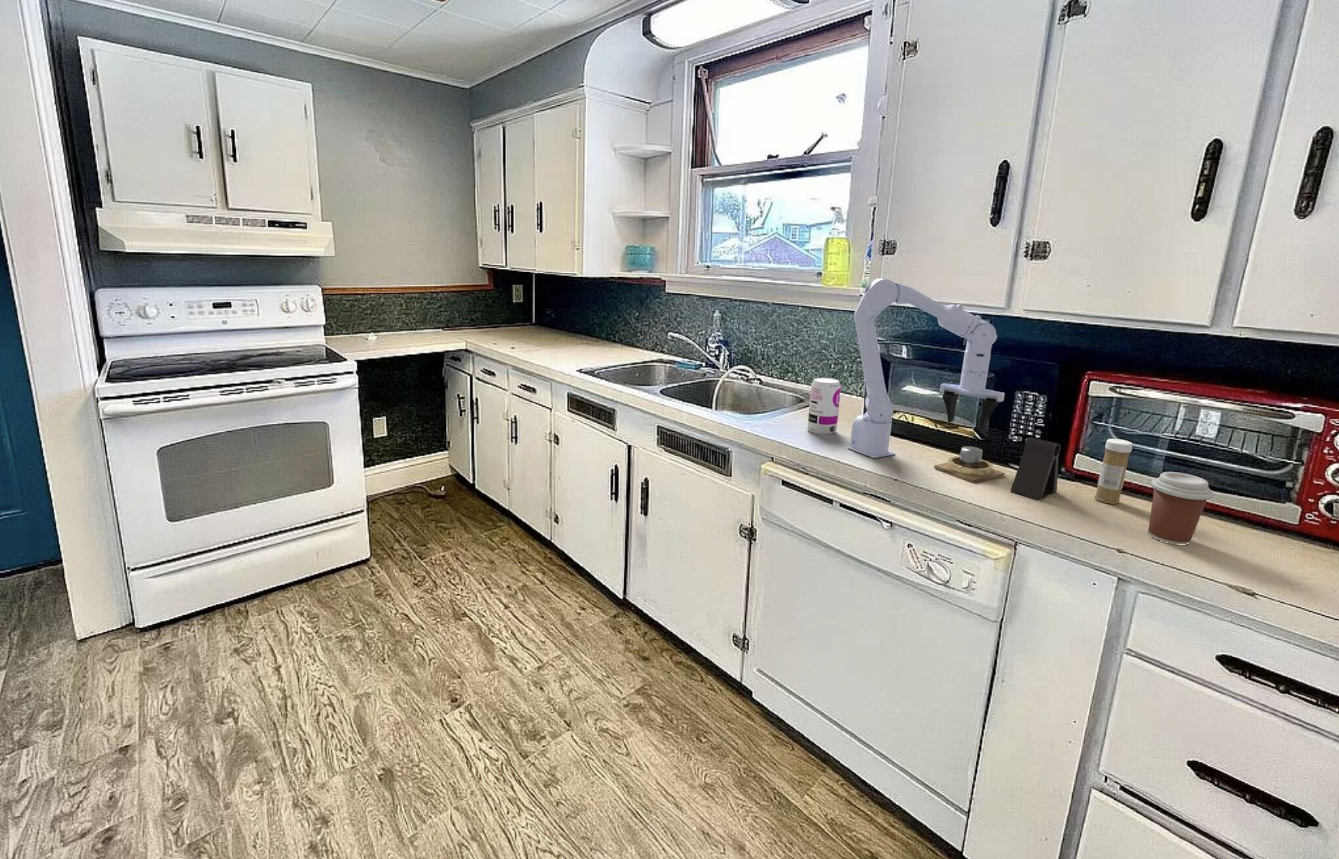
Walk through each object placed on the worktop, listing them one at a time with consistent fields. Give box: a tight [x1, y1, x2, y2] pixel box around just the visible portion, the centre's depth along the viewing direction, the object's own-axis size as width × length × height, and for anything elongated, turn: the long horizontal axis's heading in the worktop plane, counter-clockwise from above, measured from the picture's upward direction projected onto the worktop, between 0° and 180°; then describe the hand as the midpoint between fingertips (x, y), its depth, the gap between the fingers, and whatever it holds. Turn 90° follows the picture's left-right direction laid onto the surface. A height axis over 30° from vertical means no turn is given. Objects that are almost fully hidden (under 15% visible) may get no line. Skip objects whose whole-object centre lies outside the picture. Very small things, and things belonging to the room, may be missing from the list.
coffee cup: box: [1147, 471, 1214, 545], centre depth 119 cm, size 9×9×12 cm
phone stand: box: [1009, 436, 1061, 501], centre depth 140 cm, size 9×6×12 cm, turn 127°
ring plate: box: [933, 455, 1006, 484], centre depth 153 cm, size 11×11×2 cm
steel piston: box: [959, 445, 983, 468], centre depth 153 cm, size 5×5×5 cm
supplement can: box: [807, 377, 842, 436], centre depth 183 cm, size 8×8×15 cm
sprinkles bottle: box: [1094, 438, 1134, 505], centre depth 136 cm, size 5×5×13 cm
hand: (966, 424), depth 160 cm, fingers open, 7 cm apart
